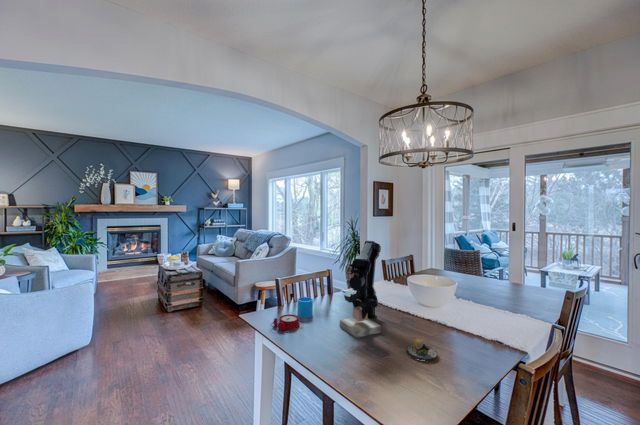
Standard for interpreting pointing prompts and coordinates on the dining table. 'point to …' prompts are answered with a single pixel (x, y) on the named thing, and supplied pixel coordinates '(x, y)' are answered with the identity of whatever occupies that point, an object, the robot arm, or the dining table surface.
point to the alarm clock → (287, 322)
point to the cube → (358, 314)
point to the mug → (305, 307)
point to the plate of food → (421, 351)
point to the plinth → (360, 327)
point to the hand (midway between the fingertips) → (360, 316)
